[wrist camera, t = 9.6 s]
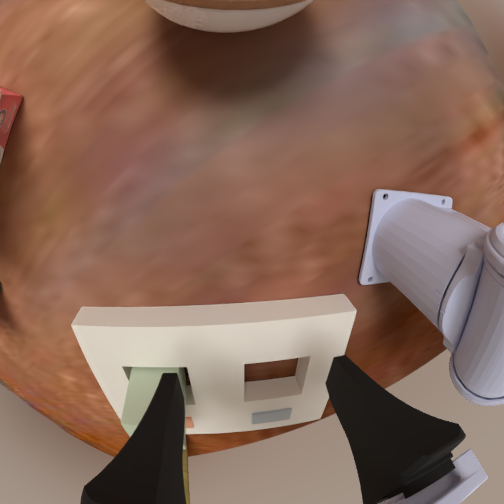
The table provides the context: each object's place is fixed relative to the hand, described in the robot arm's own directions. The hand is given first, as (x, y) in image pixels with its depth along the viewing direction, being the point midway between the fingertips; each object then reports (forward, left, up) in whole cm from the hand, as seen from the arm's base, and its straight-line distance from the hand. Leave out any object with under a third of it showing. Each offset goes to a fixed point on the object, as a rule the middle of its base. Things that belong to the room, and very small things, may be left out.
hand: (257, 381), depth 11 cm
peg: (+7, +9, -10) cm, 15 cm away
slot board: (+2, +10, -9) cm, 14 cm away
